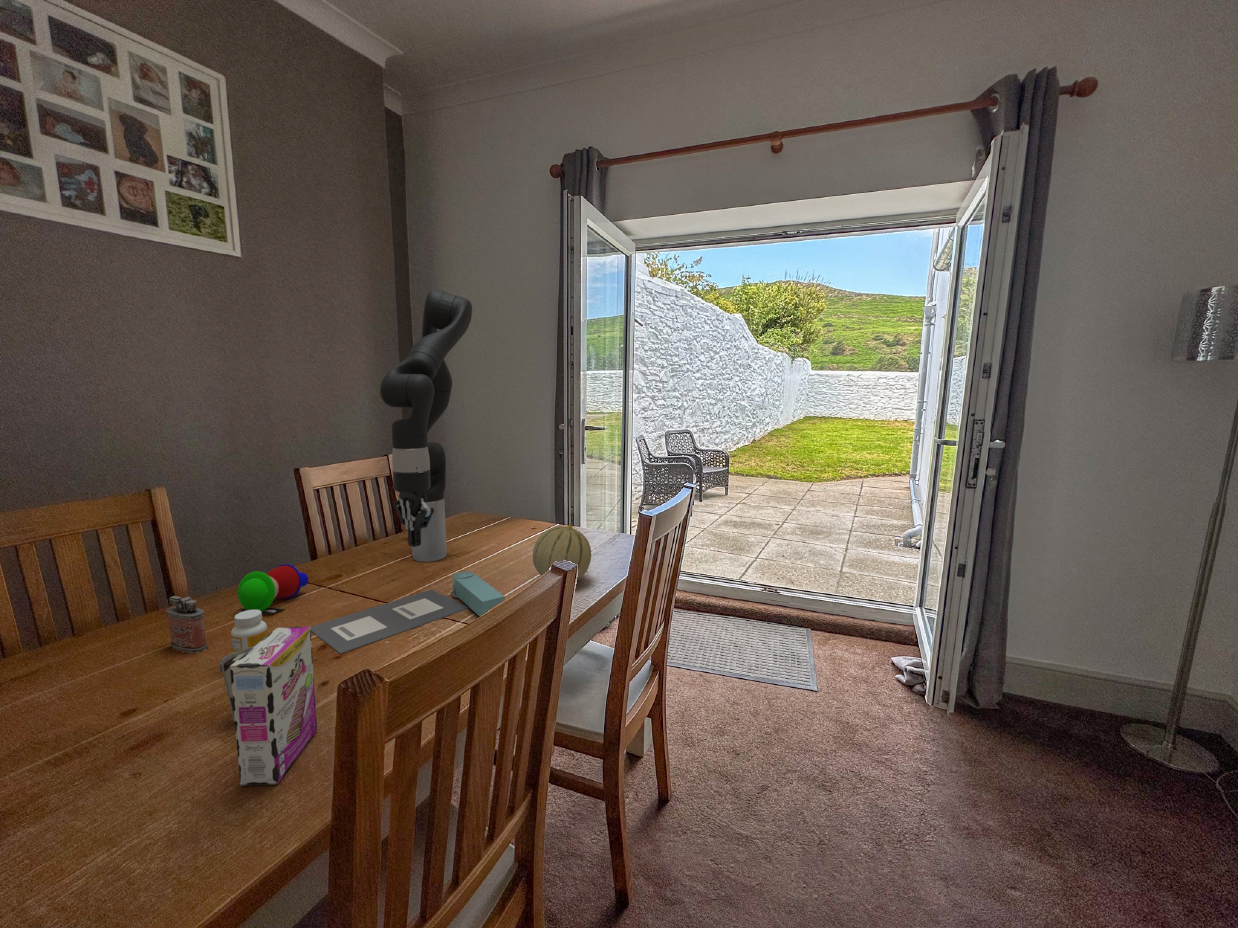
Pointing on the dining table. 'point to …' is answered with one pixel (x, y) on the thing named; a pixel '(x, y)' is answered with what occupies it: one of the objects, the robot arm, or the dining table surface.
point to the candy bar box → (273, 704)
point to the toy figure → (270, 587)
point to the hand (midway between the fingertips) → (414, 545)
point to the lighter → (186, 625)
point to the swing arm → (475, 592)
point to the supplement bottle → (248, 630)
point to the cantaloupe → (562, 549)
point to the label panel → (385, 620)
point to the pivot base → (454, 595)
